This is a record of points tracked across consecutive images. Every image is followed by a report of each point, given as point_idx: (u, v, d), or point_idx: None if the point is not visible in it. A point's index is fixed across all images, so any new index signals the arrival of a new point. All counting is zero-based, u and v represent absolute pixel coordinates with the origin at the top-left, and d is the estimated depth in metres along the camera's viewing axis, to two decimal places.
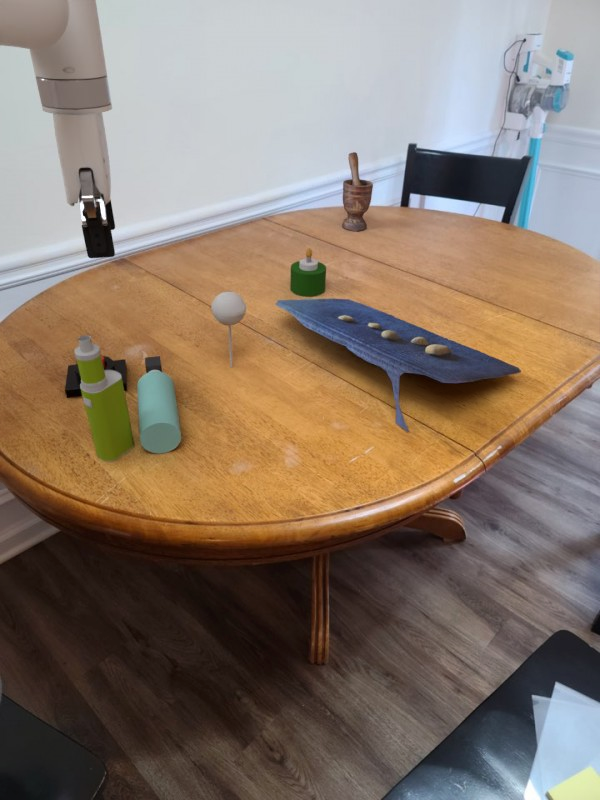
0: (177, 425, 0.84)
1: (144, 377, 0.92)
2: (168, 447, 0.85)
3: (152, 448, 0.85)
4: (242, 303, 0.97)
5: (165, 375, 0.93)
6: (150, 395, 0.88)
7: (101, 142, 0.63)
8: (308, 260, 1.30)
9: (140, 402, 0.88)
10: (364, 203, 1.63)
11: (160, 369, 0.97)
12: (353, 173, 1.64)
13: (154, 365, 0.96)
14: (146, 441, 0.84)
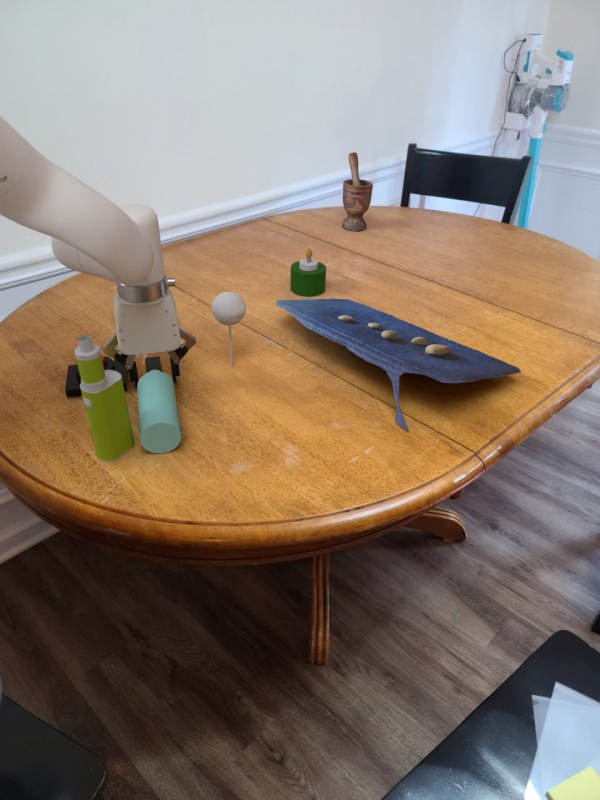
0: (177, 425, 0.84)
1: (144, 377, 0.92)
2: (168, 447, 0.85)
3: (152, 448, 0.85)
4: (242, 303, 0.97)
5: (165, 375, 0.93)
6: (150, 395, 0.88)
7: (120, 320, 0.89)
8: (308, 260, 1.30)
9: (140, 402, 0.88)
10: (364, 203, 1.63)
11: (160, 369, 0.97)
12: (353, 173, 1.64)
13: (154, 365, 0.96)
14: (146, 441, 0.84)
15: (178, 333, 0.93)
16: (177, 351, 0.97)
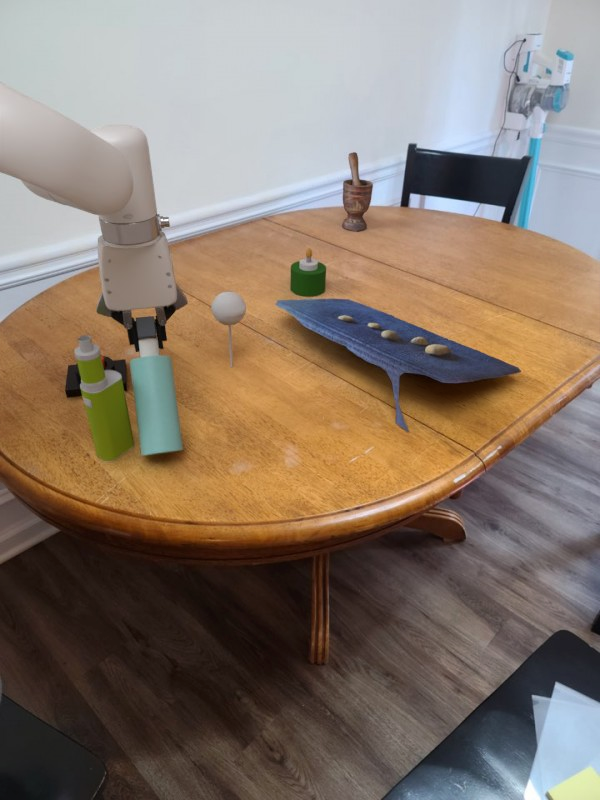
0: (180, 444, 0.82)
1: (139, 363, 0.81)
2: (169, 452, 0.85)
3: (153, 454, 0.84)
4: (242, 303, 0.97)
5: (163, 360, 0.82)
6: (149, 402, 0.80)
7: (106, 267, 0.76)
8: (308, 260, 1.30)
9: (138, 403, 0.81)
10: (364, 203, 1.63)
11: (155, 337, 0.83)
12: (353, 173, 1.64)
13: (148, 335, 0.82)
14: (147, 455, 0.82)
15: (174, 284, 0.80)
16: None
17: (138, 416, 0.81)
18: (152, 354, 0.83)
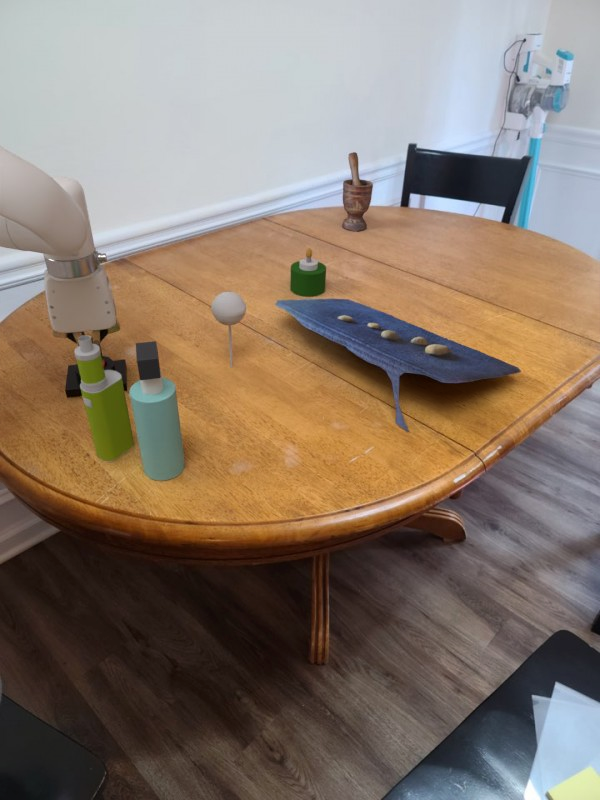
0: (182, 466, 0.82)
1: (142, 407, 0.73)
2: None
3: None
4: (242, 303, 0.97)
5: (168, 402, 0.74)
6: (153, 441, 0.77)
7: (50, 296, 0.88)
8: (308, 260, 1.30)
9: (140, 437, 0.77)
10: (364, 203, 1.63)
11: None
12: (353, 173, 1.64)
13: (151, 378, 0.72)
14: None
15: (112, 311, 0.92)
16: None
17: (141, 446, 0.78)
18: (155, 391, 0.74)
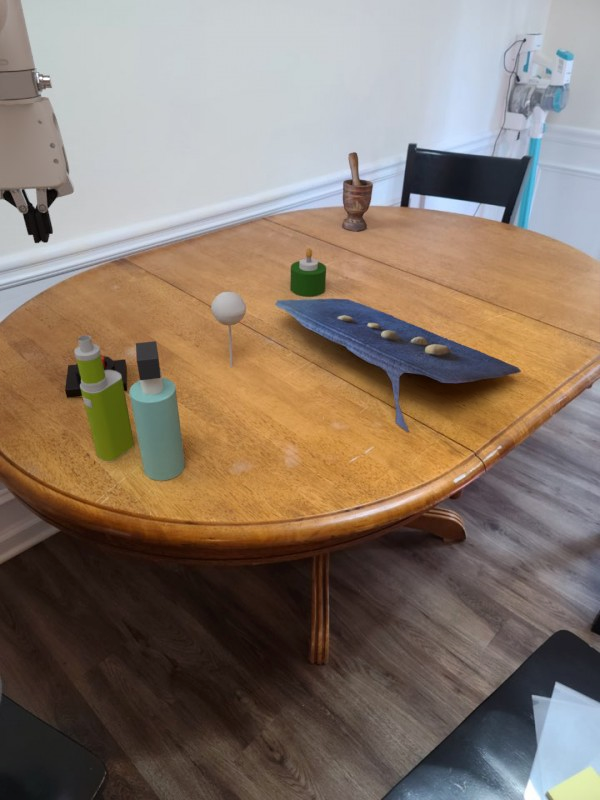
0: (182, 466, 0.82)
1: (142, 407, 0.73)
2: None
3: None
4: (242, 303, 0.97)
5: (168, 402, 0.74)
6: (153, 441, 0.77)
7: None
8: (308, 260, 1.30)
9: (140, 437, 0.77)
10: (364, 203, 1.63)
11: None
12: (353, 173, 1.64)
13: (151, 378, 0.72)
14: None
15: (61, 160, 0.70)
16: None
17: (141, 446, 0.78)
18: (155, 391, 0.74)
